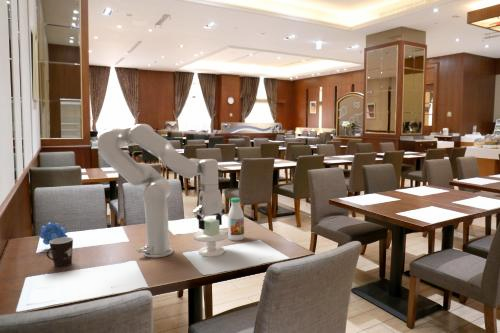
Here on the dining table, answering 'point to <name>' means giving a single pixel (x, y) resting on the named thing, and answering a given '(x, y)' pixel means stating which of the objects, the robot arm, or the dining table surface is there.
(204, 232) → the block
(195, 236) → the cake stand
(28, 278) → the dining table surface
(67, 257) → the coffee mug
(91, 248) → the dining table surface
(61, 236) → the grapes
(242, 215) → the milk bottle
